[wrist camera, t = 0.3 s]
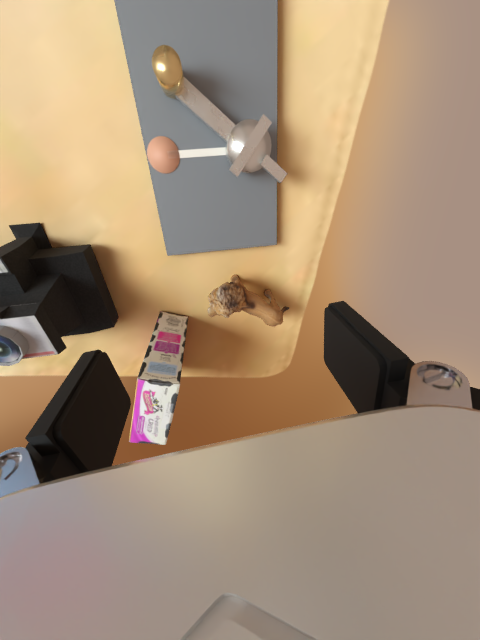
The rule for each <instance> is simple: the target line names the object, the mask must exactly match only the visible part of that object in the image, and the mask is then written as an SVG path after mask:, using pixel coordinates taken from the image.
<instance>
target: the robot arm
mask: <svg viewBox="0 0 480 640" xmlns="http://www.w3.org/2000/svg"><path fill="white" fill-rule="evenodd" d="M324 320H325V321H324V361H325V364H326V365H327V367H328V369H329V370H330V372H331V373H332V375H333V376H334V378H335V379H336V381H337V382H338V384H339V385H340V387H341V388H342V390H343V391H344V392H345V394H346V396H347V397H348V399H349V400H350V402H351V403H352V405H353V406H354V408H355V409H356V411H357V412H358V413H357V414H352V415H347V416H343V417H337V418H332V419H327V420H322V421H318V422H313V423H308V424H304V425H299V426H295V427H290V428H284V429H280V430H275V431H271V432H266V433H261V434H256V435H252V436H247V437H242V438H238V439H233V440H229V441H224V442H219V443H215V444H210V445H205V446H201V447H196V448H192V449H187V450H183V451H178V452H173V453H169V454H164V455H160V456H156V457H152V458H147V459H143V460H138V461H133V462H129V463H124V464H120V465H115V466H112V463H113V460H114V457H115V454H116V450H117V447H118V444H119V441H120V438H121V434H122V431H123V428H124V425H125V422H126V419H127V415H128V412H129V409H130V405H131V403H130V397H129V395H128V393H127V391H126V390H125V388H124V386H123V384H122V382H121V380H120V378H119V376H118V374H117V372H116V370H115V368H114V366H113V365H112V363H111V361H110V359H109V357H108V355H107V353H105V352H102V351H101V350H95V351H90V352H85V353H83V354H82V356H81V357H80V358H79V360H78V361H77V363H76V364H75V366H74V367H73V369H72V370H71V372H70V373H69V375H68V376H67V378H66V379H65V381H64V382H63V383H62V385H61V386H60V388H59V389H58V391H57V392H56V394H55V395H54V397H53V398H52V400H51V401H50V403H49V404H48V406H47V407H46V409H45V410H44V411H43V413H42V415H41V416H40V417H39V419H38V420H37V422H36V423H35V425H34V426H33V428H32V429H31V431H30V432H29V434H28V435H27V436H26V439H27V441H28V442H29V443H28V445H27V446H26V448H22V447H17V448H12V449H9V450H7V451H4V452H2V453H1V454H0V640H480V389H476V388H473V387H470V385H469V381H468V379H467V377H466V376H465V375H464V374H463V373H462V372H460V371H459V370H457V369H456V368H454V367H452V366H450V365H447V364H443V363H440V362H434V361H423V362H419V363H416V364H415V363H414V362H413V361H411V360H410V359H409V357H407V355H406V354H404V353H403V352H402V351H401V350H400V349H399V348H397V347H396V346H395V345H394V344H393V343H392V342H391V341H389V340H388V339H387V338H386V337H384V335H382V334H381V333H380V332H379V331H378V330H377V329H375V328H374V327H373V326H372V325H371V324H370V323H369V322H367V321H366V320H365V319H364V318H363V317H362V316H361V315H359V314H358V313H357V312H356V311H355V310H354V309H352V308H351V307H350V306H349V305H348V304H347V303H346V302H344V301H341V302H335V303H331V304H329V306H328V307H327V308H325V317H324Z"/></svg>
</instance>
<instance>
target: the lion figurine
mask: <svg viewBox="0 0 480 640" xmlns="http://www.w3.org/2000/svg"><path fill="white" fill-rule="evenodd" d="M231 280H232V281H233V282H230V283H228V282H226V283H225V284H223V285H221V286H220V287H219V288H216V289H214V290H213V291H212V293H210V294H209V296H208V299H209V302H210V305H211V306H210V307H209V308H208V315H209V316H210V317H213V316H215V315H222V316H224V317H227V318H229V315H231V314H232V313H234V312H240V311H241V310H243V311H245V312H247V313H249V314H251V315H254V316H257V317H259V318H261V319H262V320H263V321H264V322H265V323H266V324H267V325H269V326H276V325H279V324H282V322H283V313H284V311H286V310H288V309H289V307H284V308H283V309H282V310H280V308H279V306H278V305H277V304H276V302H275V299H274V298H273V296H272V293H271V291H270V290H269V289H266V290H265V292H264V294H265V296H267V297H268V298H269V299H270V304H267V303H266V302H265V301H264V300H263V299H262V298H261V297H260V296H258V295H256V294H254V293H252V292H250V291H247V289H246V288H245V287H244V285H243V284H242V283H241V281H240V279H239V277H238V276H237V275H233V276H232V278H231Z"/></svg>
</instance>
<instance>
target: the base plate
mask: <svg viewBox="0 0 480 640" xmlns="http://www.w3.org/2000/svg"><path fill="white" fill-rule="evenodd" d="M114 1H115V6H116V11H117V16H118V20H119V25H120V30H121V35H122V40H123V44H124V49H125V54H126V59H127V64H128V68H129V73H130V78H131V83H132V88H133V92H134V97H135V102H136V107H137V112H138V116H139V121H140V126H141V131H142V136H143V140H144V145H145V150H146V155H147V160H148V165H149V169H150V174H151V179H152V184H153V189H154V193H155V198H156V203H157V208H158V213H159V217H160V222H161V227H162V232H163V237H164V241H165V246H166V251H167V256H169V255H179V254H189V253H199V252H209V251H219V250H228V249H238V248H248V247H258V246H268V245H277V180H275V179H274V178H273V177H272V176H271V175H270V174H269V173H268V172H267V171H265V170H264V169H263V168H261V169H260V170H258V171H255V172H251V173H242V172H240V174H239V176H238V177H236V176H235V175H234V174H233V173H232V172H230V171H229V169H230V167H231V165H230V163H229V161H228V159H227V156H226V142H225V141H224V140H223V139H222V138H221V137H219V136H218V135H217V134H216V133H215V132H214V131H213V130H212V129H210V128H209V127H208V126H207V125H206V124H205V123H204V122H202V121H201V120H200V119H199V118H198V117H197V116H196V115H195V114H193V113H192V112H191V111H190V110H189V109H188V108H187V107H186V106H184V105H183V104H182V103H181V102H180V101H179V100H178V99H172V98H169V97H168V96H166V95H165V93H164V92H163V90H162V88H161V86H160V84H159V82H158V79H157V77H156V75H155V73H154V70H153V67H152V56H153V53H154V51H155V49H156V48H157V47H159V46H161V45H168V46H170V47H172V48H173V49H174V50H175V51H176V52H177V54H178V55H179V58H180V61H181V65H182V71H183V76H184V77H185V78H186V79H187V80H188V81H189V82H190V83H191V84H192V85H193V86H194V87H195V88H197V89H198V90H199V91H200V92H201V93H202V94H203V95H204V96H205V97H206V98H207V99H208V100H209V101H211V102H212V103H213V104H214V105H215V106H216V107H217V108H218V109H219V110H220V111H221V112H222V113H223V114H224V115H226V116H227V117H228V118H229V119H230V120H231V121H232V122H233V123H234V124H235V125H237V124H238V123H239V122H241V121H243V120H246V119H253V120H256V121H259V119H260V118H261V116H262V115H263V114H264V115H265V116H266V117H267V118H268V119H269V120H270V121H271V122H272V123H271V125H270V126H269V128H268V132H269V135H270V138H271V154H270V158H271V159H272V160H274V161H275V162H276V163H277V6H278V0H114Z"/></svg>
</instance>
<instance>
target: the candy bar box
mask: <svg viewBox="0 0 480 640" xmlns="http://www.w3.org/2000/svg"><path fill="white" fill-rule="evenodd" d="M187 322H188V316H183V315H177V314H173V313H168V312H162V311H160V314H159V317H158V320H157V323H156V326H155V329H154V332H153V334H152V337H151V340H150V343H149V346H148V349H147V352H146V355H145V358H144V361H143V363H142V366H141V369H140V372H139V375H138V378H137V383H136V391H135V401H134V408H133V415H132V422H131V429H130V437H129V442H136V443H151V444H163V445H165V444H166V441H167V437H168V433H169V430H170V426H171V422H172V417H173V413H174V409H175V405H176V401H177V396H178V391H179V387H180V377H181V370H182V362H183V354H184V346H185V338H186V330H187Z"/></svg>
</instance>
